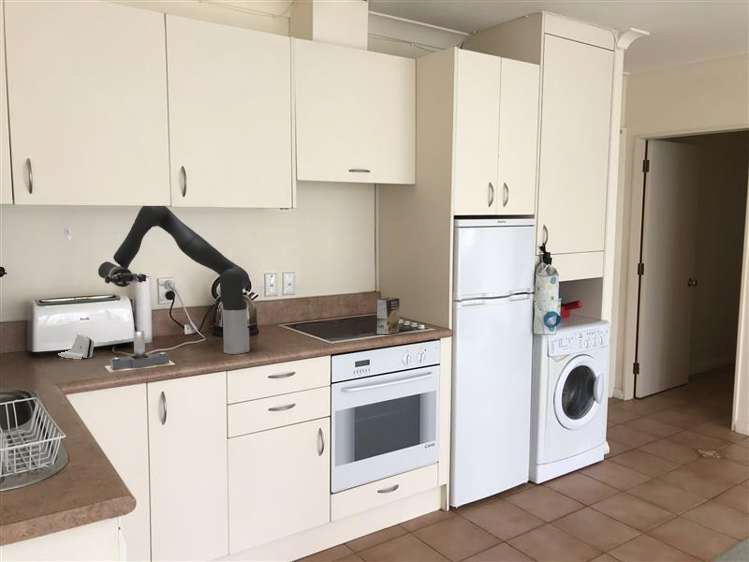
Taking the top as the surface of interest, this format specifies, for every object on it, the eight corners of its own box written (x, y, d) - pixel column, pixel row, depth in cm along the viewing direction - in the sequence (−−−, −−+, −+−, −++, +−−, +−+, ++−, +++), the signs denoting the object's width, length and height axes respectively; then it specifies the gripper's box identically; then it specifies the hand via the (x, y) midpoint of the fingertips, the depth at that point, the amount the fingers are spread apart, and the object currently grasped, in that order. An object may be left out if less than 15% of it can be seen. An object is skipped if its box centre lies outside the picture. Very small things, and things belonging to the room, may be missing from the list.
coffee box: (387, 335, 290) (388, 300, 288) (376, 333, 294) (376, 299, 292) (399, 332, 297) (399, 298, 296) (388, 330, 301) (388, 297, 299)
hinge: (50, 356, 244) (57, 330, 246) (60, 358, 249) (67, 332, 251) (80, 361, 237) (87, 334, 239) (91, 363, 241) (97, 336, 243)
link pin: (144, 363, 231) (143, 330, 229) (146, 365, 228) (145, 332, 226) (133, 364, 229) (132, 331, 227) (136, 366, 226) (134, 333, 224)
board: (167, 360, 238) (167, 358, 238) (175, 366, 230) (175, 364, 230) (104, 368, 226) (104, 366, 226) (110, 374, 218) (110, 372, 218)
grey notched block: (164, 360, 236) (164, 350, 236) (170, 364, 230) (169, 354, 230) (109, 366, 226) (109, 356, 226) (113, 370, 220) (113, 360, 219)
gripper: (100, 267, 245) (108, 270, 232) (139, 266, 253) (149, 269, 239) (101, 287, 246) (109, 291, 232) (139, 284, 254) (149, 289, 240)
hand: (129, 280), depth 236 cm, fingers open, 8 cm apart
